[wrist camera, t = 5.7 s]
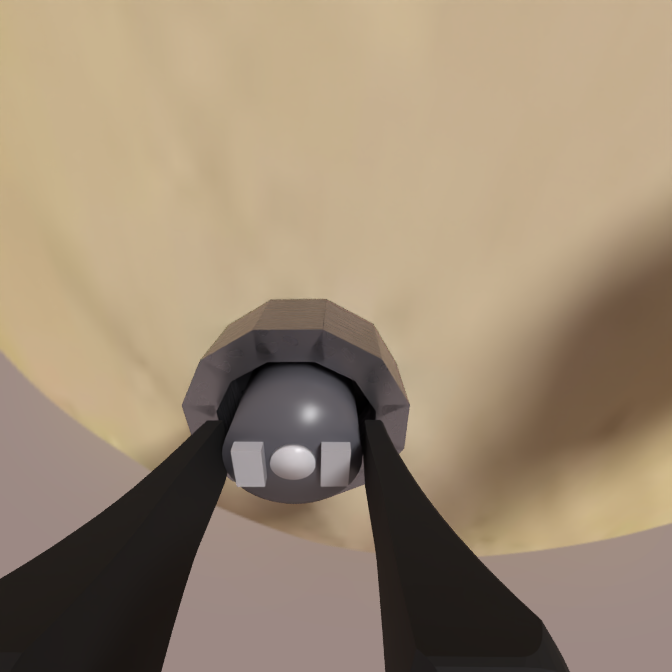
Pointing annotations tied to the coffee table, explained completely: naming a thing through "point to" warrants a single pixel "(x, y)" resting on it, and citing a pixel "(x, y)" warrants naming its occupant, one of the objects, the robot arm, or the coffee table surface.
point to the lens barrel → (301, 346)
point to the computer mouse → (294, 434)
